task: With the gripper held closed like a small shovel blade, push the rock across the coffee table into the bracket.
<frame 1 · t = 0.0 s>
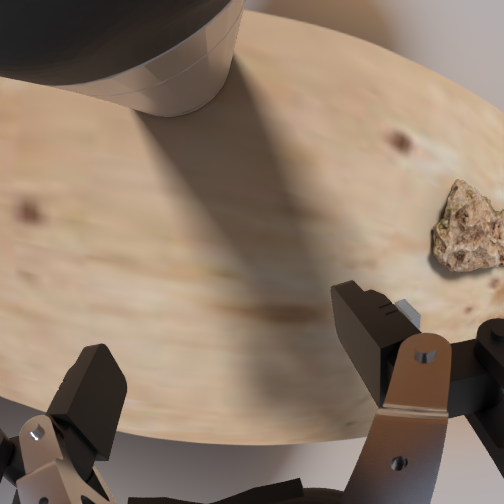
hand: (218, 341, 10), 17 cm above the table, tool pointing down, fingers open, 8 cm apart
bracket: (467, 317, 34), on the table
rock: (474, 219, 30), on the table
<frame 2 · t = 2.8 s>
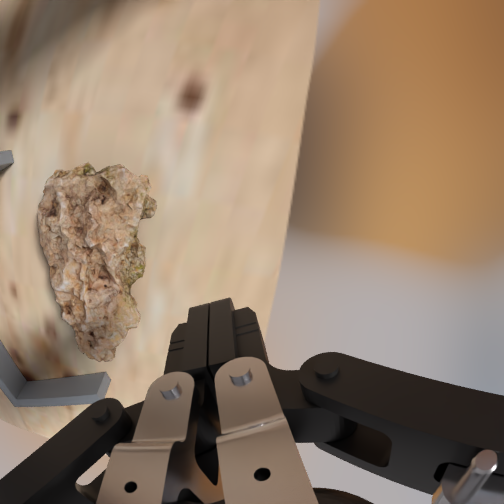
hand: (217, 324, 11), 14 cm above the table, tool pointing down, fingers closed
bracket: (6, 293, 24), on the table
rock: (114, 258, 25), on the table
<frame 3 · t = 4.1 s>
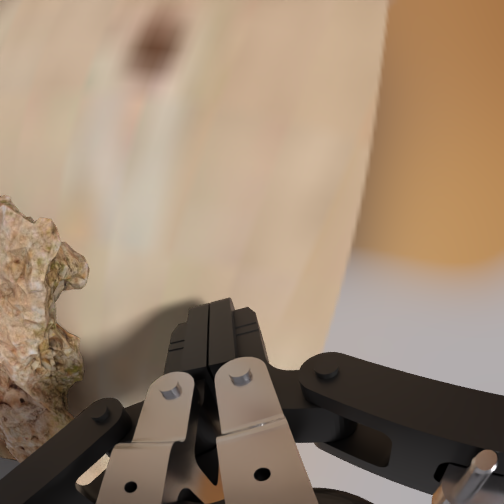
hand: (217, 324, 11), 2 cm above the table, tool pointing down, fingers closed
rock: (39, 343, 13), on the table
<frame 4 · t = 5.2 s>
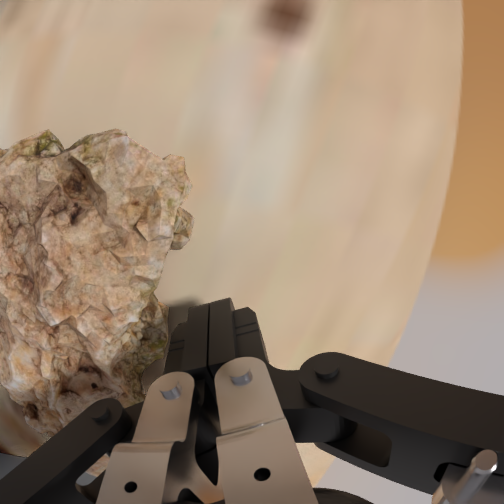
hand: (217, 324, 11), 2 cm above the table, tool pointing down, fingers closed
rock: (107, 319, 13), on the table, touching gripper
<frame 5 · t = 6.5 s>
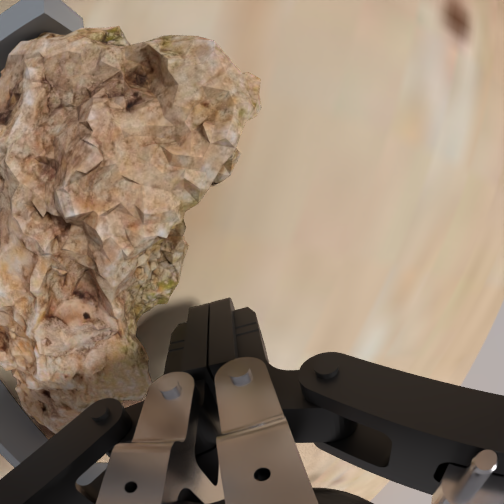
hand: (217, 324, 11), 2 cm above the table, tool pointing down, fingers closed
bracket: (32, 332, 12), on the table
rock: (111, 251, 12), on the table, touching gripper
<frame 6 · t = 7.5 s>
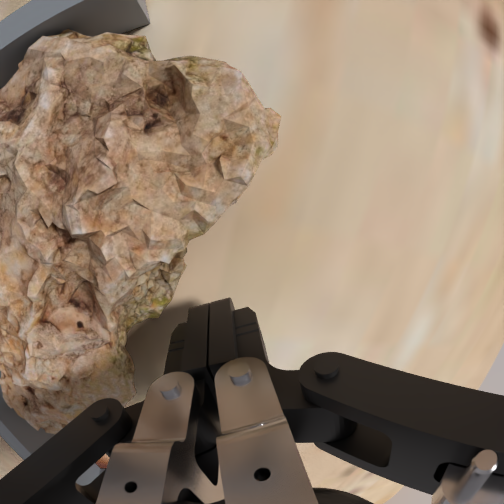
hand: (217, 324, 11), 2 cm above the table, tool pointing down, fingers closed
bracket: (74, 334, 12), on the table
rock: (108, 259, 12), on the table
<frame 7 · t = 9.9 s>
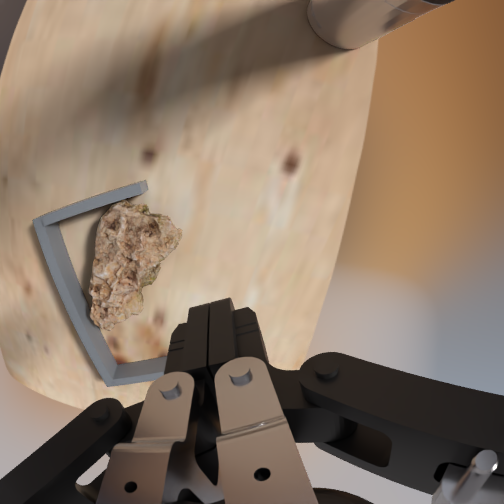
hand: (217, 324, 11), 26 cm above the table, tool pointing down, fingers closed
bracket: (120, 290, 38), on the table
rock: (135, 265, 37), on the table
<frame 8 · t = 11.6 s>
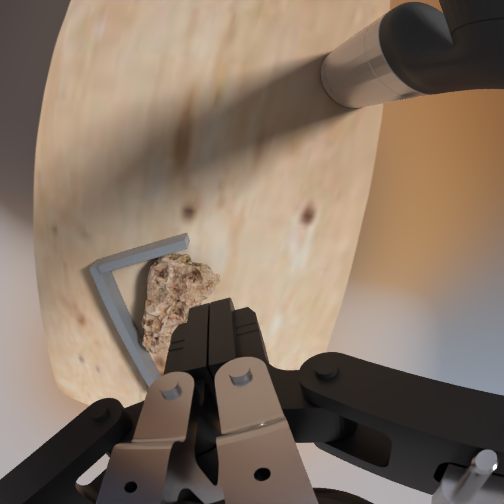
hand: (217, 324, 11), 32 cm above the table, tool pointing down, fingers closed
bracket: (167, 320, 47), on the table
rock: (179, 300, 46), on the table
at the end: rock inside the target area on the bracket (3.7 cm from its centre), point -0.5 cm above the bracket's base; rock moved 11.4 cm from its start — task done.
